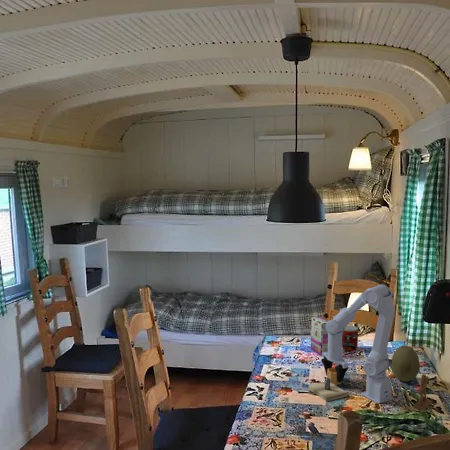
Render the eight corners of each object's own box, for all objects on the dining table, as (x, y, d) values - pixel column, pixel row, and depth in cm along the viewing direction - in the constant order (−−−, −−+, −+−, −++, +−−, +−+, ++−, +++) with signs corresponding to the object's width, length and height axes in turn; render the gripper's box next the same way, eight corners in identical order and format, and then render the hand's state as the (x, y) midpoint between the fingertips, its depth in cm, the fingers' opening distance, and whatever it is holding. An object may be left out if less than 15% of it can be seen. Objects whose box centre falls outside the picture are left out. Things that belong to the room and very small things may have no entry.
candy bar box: (330, 355, 233) (331, 322, 232) (321, 356, 232) (321, 323, 230) (319, 347, 244) (319, 316, 242) (310, 349, 242) (310, 317, 241)
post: (331, 389, 192) (331, 378, 192) (326, 390, 191) (327, 379, 191) (327, 387, 194) (328, 376, 194) (323, 388, 193) (323, 377, 193)
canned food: (340, 350, 240) (340, 329, 239) (344, 345, 247) (344, 324, 246) (355, 352, 237) (356, 331, 236) (359, 347, 244) (359, 326, 243)
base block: (347, 396, 190) (347, 392, 190) (326, 401, 185) (326, 397, 185) (328, 384, 200) (328, 381, 200) (308, 389, 196) (308, 385, 196)
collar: (344, 383, 202) (344, 371, 201) (333, 385, 199) (333, 374, 199) (335, 378, 207) (335, 366, 206) (324, 380, 204) (324, 369, 204)
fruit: (421, 387, 198) (422, 351, 196) (393, 384, 200) (394, 350, 199) (416, 375, 209) (417, 342, 207) (389, 374, 211) (390, 340, 210)
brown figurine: (423, 411, 177) (424, 379, 176) (412, 407, 180) (413, 377, 179) (431, 402, 184) (433, 372, 183) (421, 399, 187) (422, 369, 185)
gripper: (354, 351, 197) (353, 383, 198) (331, 340, 210) (331, 370, 211) (340, 354, 194) (339, 386, 195) (318, 343, 207) (317, 373, 208)
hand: (334, 378), depth 203 cm, fingers open, 7 cm apart
